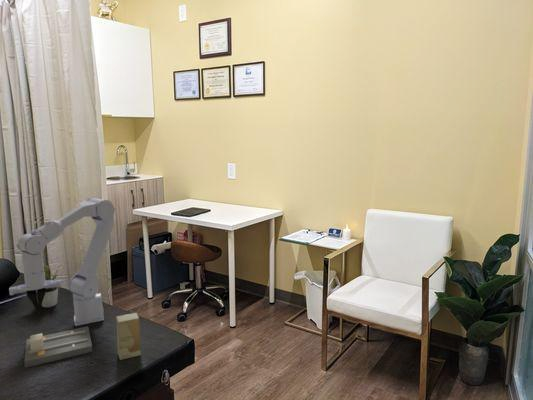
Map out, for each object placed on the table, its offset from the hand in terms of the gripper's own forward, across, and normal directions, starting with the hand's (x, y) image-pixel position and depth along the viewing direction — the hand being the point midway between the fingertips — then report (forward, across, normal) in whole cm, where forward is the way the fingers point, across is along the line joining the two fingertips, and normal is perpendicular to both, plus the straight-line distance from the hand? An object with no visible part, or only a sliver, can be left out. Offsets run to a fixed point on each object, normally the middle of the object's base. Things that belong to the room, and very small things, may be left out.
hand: (38, 311), depth 133 cm
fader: (+7, +1, +10) cm, 12 cm away
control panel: (+9, -5, +10) cm, 15 cm away
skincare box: (+10, -24, +24) cm, 35 cm away
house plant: (+10, -1, -29) cm, 30 cm away
